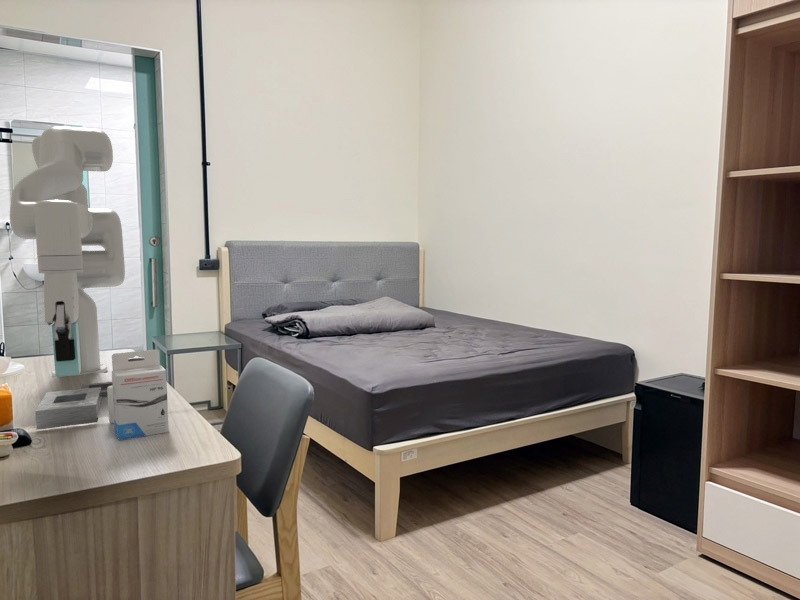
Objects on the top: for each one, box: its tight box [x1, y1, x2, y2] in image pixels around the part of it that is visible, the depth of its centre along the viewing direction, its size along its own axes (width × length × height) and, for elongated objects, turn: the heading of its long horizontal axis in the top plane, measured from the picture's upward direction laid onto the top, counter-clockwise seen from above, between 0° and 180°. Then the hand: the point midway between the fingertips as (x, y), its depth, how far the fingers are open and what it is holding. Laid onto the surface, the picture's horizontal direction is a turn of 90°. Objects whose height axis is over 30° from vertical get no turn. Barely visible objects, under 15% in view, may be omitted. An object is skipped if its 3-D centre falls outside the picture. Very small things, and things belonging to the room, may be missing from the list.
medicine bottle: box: [107, 357, 145, 425], centre depth 112 cm, size 7×7×12 cm
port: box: [34, 387, 103, 430], centre depth 116 cm, size 14×10×4 cm
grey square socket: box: [80, 381, 112, 398], centre depth 130 cm, size 9×9×2 cm
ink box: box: [111, 348, 170, 441], centre depth 105 cm, size 8×5×15 cm, turn 123°
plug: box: [51, 321, 81, 378], centre depth 114 cm, size 4×4×10 cm
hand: (67, 357), depth 115 cm, fingers closed on plug, 4 cm apart
